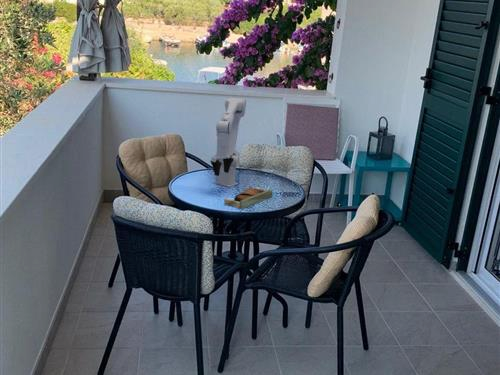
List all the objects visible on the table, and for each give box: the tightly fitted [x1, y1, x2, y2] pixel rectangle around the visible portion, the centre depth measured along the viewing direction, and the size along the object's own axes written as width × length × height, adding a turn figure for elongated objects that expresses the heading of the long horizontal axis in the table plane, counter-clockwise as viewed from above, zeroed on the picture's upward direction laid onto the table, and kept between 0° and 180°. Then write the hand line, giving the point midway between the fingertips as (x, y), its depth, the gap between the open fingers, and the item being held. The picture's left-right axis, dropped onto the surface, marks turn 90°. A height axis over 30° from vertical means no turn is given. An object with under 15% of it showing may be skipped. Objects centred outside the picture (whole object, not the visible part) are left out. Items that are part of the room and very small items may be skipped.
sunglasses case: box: [234, 186, 259, 202], centre depth 269 cm, size 18×7×7 cm
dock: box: [223, 187, 274, 210], centre depth 266 cm, size 10×25×4 cm, turn 146°
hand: (221, 173), depth 273 cm, fingers open, 7 cm apart
